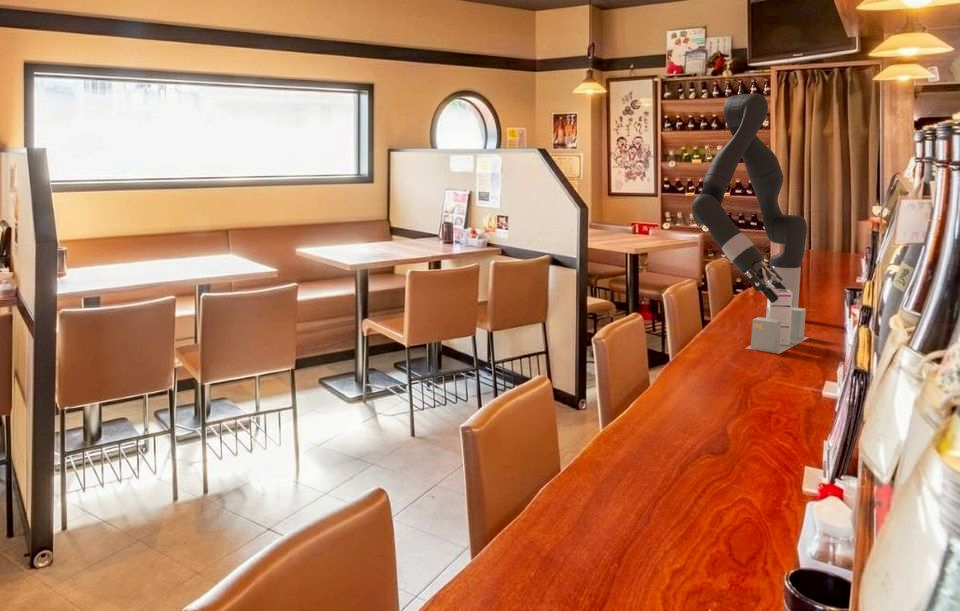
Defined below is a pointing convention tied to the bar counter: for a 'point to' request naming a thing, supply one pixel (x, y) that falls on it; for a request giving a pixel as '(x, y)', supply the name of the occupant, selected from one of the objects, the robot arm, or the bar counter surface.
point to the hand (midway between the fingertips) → (781, 298)
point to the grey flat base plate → (785, 347)
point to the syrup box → (782, 313)
